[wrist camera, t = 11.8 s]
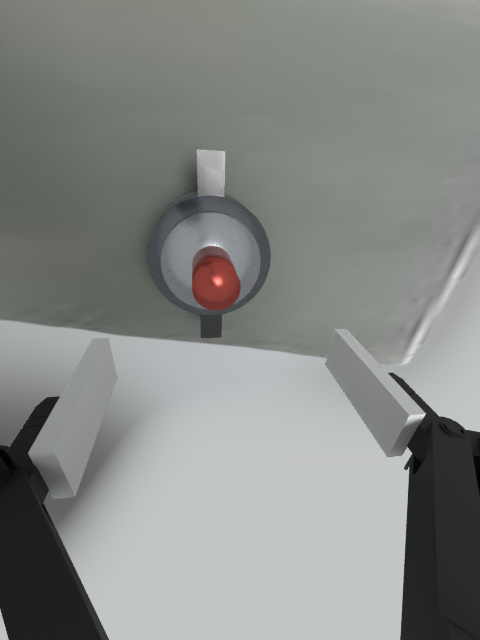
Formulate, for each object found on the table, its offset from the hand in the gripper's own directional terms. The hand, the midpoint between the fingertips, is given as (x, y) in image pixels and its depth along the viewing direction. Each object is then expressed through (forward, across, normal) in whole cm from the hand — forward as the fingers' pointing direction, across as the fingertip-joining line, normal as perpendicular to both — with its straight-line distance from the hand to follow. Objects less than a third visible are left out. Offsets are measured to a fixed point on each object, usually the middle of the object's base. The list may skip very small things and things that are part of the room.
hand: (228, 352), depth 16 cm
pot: (+27, 0, 0) cm, 27 cm away
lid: (+18, 0, 0) cm, 18 cm away
